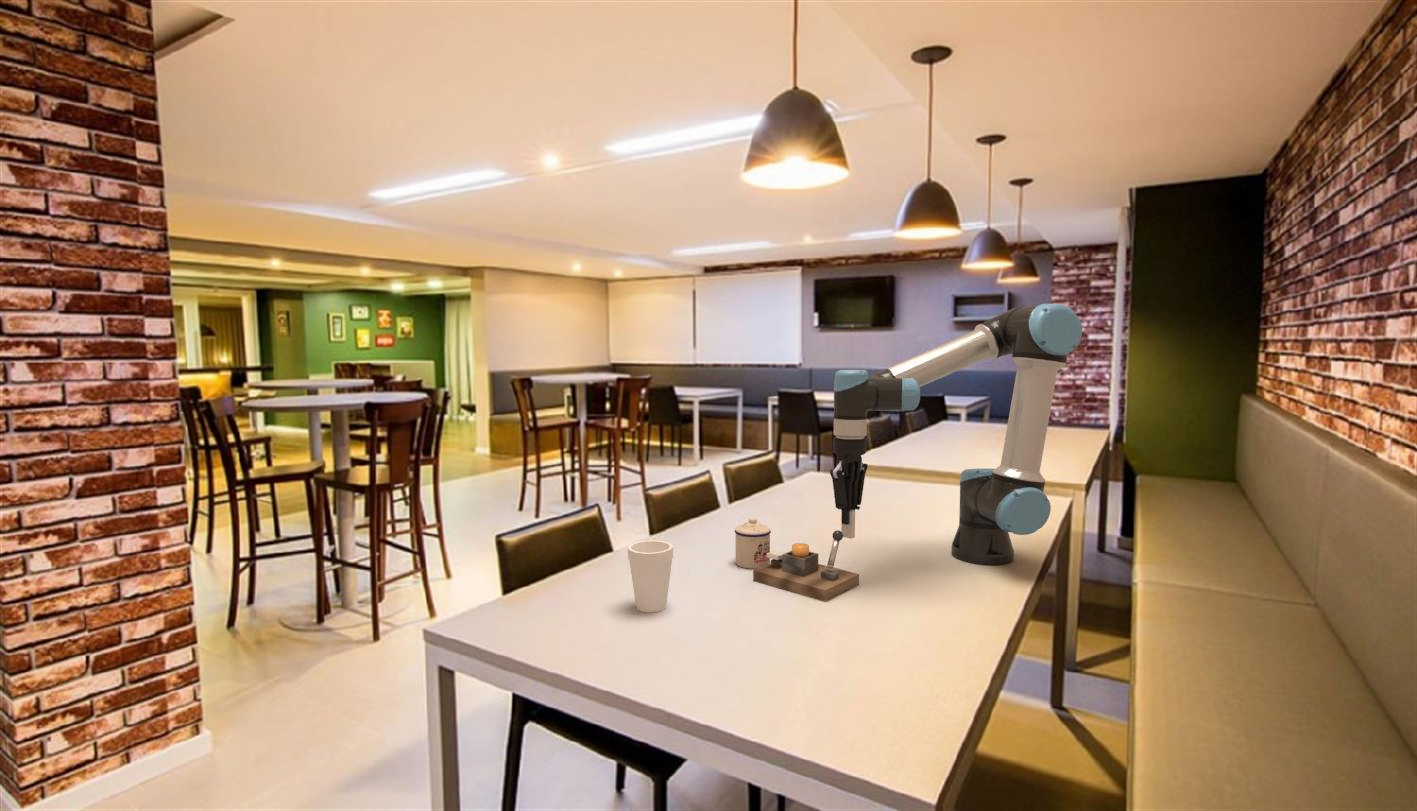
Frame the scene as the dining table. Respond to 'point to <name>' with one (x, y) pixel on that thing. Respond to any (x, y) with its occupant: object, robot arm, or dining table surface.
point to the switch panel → (806, 577)
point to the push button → (800, 550)
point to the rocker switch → (775, 555)
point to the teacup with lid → (752, 544)
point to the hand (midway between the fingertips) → (847, 536)
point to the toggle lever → (834, 548)
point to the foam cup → (650, 573)
